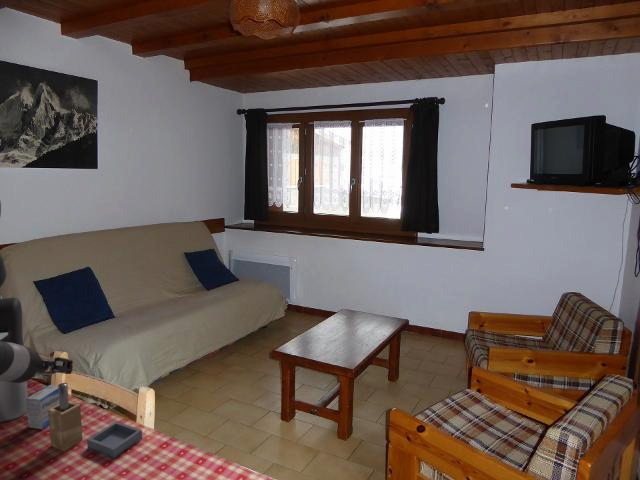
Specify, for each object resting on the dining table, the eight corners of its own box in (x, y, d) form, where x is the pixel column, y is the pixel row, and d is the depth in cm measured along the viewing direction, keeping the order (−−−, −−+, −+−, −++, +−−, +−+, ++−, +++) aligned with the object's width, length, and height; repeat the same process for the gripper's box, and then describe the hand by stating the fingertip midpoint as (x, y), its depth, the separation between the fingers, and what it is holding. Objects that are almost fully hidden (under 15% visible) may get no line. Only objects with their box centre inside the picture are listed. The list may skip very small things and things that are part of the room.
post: (61, 442, 115) (57, 384, 112) (70, 439, 116) (66, 382, 114) (63, 446, 114) (58, 387, 111) (71, 443, 115) (68, 385, 112)
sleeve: (50, 445, 114) (48, 409, 112) (68, 435, 118) (66, 399, 116) (64, 451, 112) (62, 414, 110) (82, 440, 116) (80, 404, 114)
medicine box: (42, 430, 120) (39, 400, 118) (27, 427, 121) (25, 398, 119) (64, 414, 128) (62, 386, 126) (50, 412, 128) (48, 384, 127)
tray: (87, 448, 113) (87, 439, 113) (116, 429, 121) (116, 421, 121) (114, 458, 110) (113, 449, 109) (142, 438, 118) (141, 430, 117)
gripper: (47, 341, 95) (84, 352, 110) (-22, 347, 94) (24, 358, 109) (42, 378, 92) (80, 384, 107) (-29, 384, 92) (19, 390, 107)
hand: (52, 371), depth 108 cm, fingers open, 8 cm apart
